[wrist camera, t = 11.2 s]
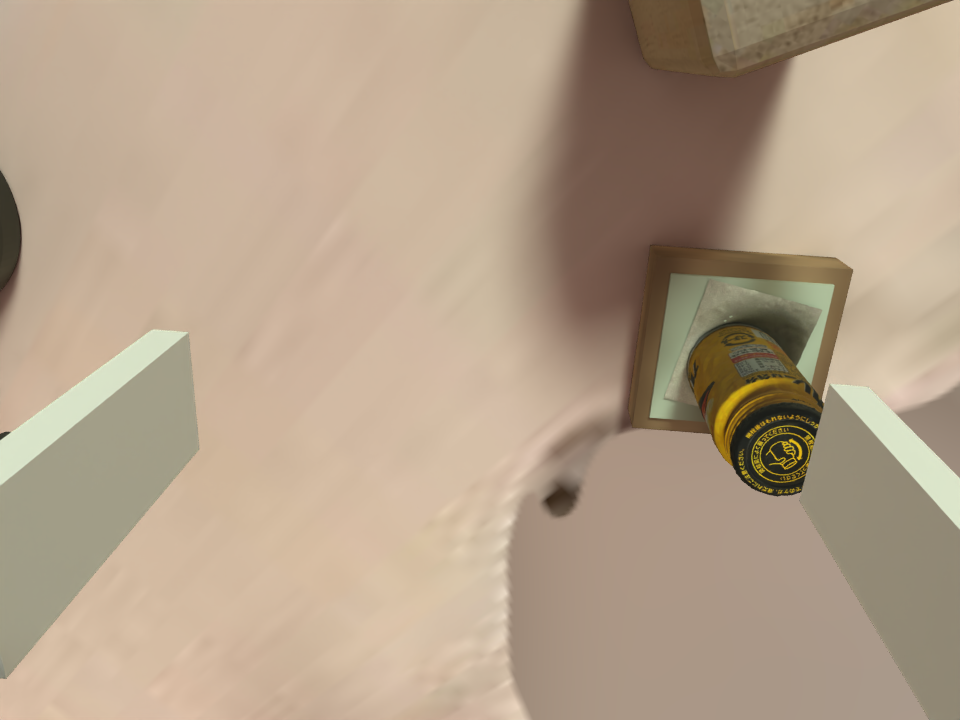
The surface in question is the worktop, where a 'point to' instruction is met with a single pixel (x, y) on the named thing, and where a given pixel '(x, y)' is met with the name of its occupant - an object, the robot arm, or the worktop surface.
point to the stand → (676, 301)
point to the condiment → (752, 384)
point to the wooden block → (752, 30)
